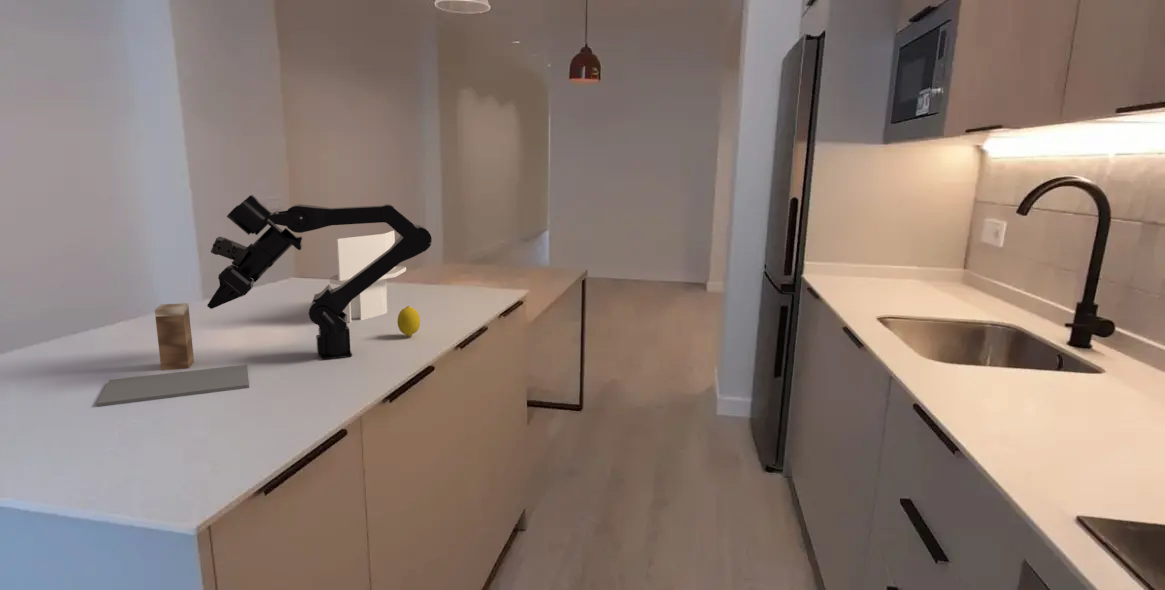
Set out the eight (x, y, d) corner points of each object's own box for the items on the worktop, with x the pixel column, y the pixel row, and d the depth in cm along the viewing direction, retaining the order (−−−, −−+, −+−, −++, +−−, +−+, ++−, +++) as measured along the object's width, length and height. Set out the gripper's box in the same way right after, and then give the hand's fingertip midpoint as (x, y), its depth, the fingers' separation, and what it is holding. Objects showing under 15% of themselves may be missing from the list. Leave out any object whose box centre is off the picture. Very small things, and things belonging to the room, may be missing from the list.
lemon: (393, 338, 163) (392, 307, 162) (407, 332, 168) (406, 302, 167) (411, 340, 161) (410, 309, 160) (424, 335, 166) (424, 305, 165)
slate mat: (247, 367, 138) (247, 364, 138) (249, 387, 126) (248, 384, 126) (109, 382, 127) (109, 379, 127) (97, 406, 115) (97, 403, 115)
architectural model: (349, 303, 202) (345, 228, 197) (416, 305, 202) (414, 229, 197) (310, 325, 175) (305, 238, 170) (388, 327, 174) (385, 240, 170)
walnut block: (194, 361, 141) (188, 303, 139) (188, 368, 137) (182, 308, 134) (167, 363, 140) (161, 304, 137) (161, 370, 135) (154, 309, 133)
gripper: (242, 219, 145) (190, 270, 144) (227, 228, 128) (168, 285, 126) (283, 254, 149) (233, 303, 148) (273, 266, 132) (217, 322, 131)
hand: (213, 302), depth 138 cm, fingers open, 9 cm apart
